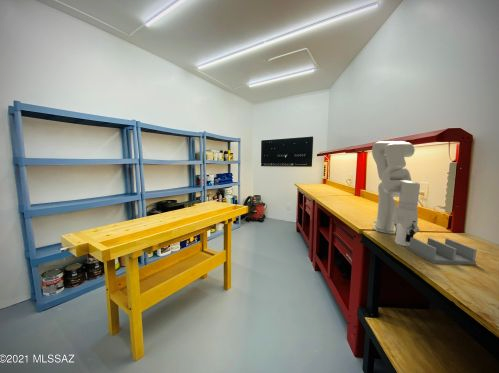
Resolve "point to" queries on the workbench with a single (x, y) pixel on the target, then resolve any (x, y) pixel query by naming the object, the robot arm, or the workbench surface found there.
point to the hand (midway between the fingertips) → (403, 238)
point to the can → (401, 236)
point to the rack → (443, 251)
